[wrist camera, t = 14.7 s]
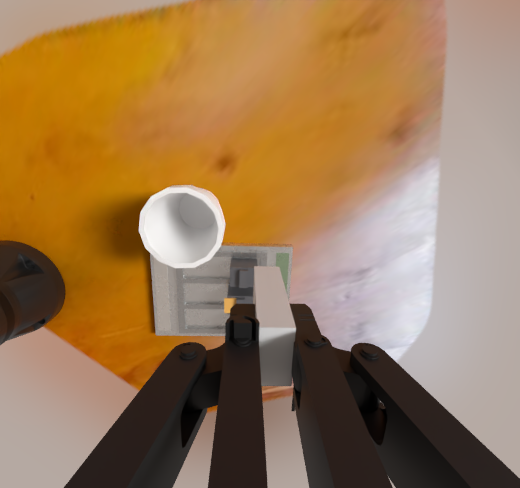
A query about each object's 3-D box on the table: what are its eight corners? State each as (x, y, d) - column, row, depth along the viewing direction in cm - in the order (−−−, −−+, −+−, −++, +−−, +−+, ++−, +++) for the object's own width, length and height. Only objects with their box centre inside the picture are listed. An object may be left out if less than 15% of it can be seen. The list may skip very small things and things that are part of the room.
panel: (158, 330, 52) (154, 337, 50) (152, 241, 47) (147, 244, 45) (285, 331, 53) (286, 338, 51) (291, 244, 48) (293, 248, 46)
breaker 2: (226, 301, 49) (223, 316, 44) (226, 284, 48) (223, 298, 43) (253, 302, 49) (253, 317, 44) (253, 285, 48) (254, 299, 44)
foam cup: (242, 213, 46) (240, 234, 34) (198, 250, 48) (180, 283, 35) (200, 164, 44) (181, 168, 32) (155, 204, 46) (120, 223, 33)
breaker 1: (231, 276, 48) (229, 289, 43) (231, 258, 47) (229, 269, 42) (256, 276, 48) (257, 289, 43) (257, 258, 47) (258, 270, 42)
